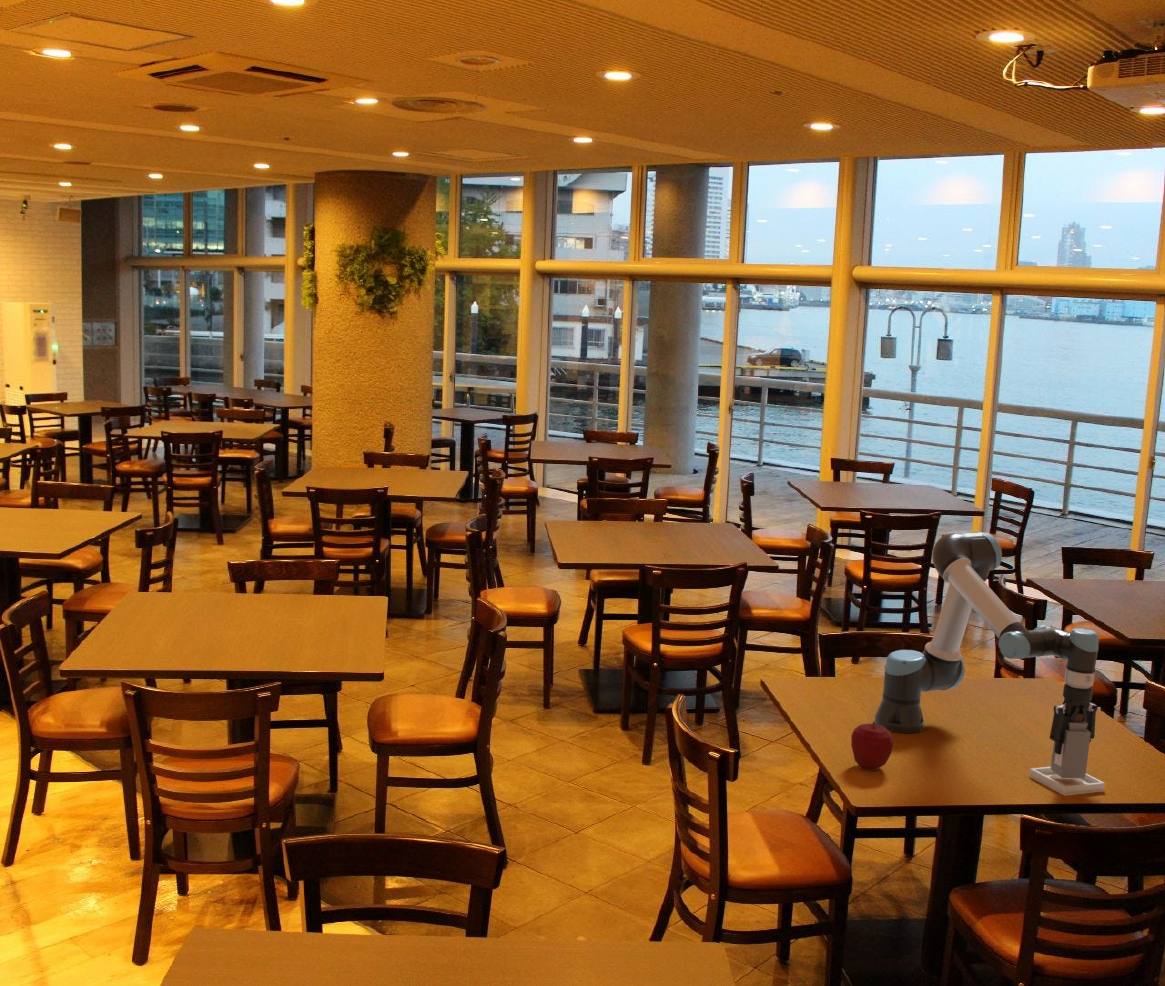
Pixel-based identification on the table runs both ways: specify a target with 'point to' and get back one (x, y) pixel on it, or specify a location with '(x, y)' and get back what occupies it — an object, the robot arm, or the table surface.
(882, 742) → the apple
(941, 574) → the robot arm
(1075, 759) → the perfume bottle
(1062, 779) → the tray
